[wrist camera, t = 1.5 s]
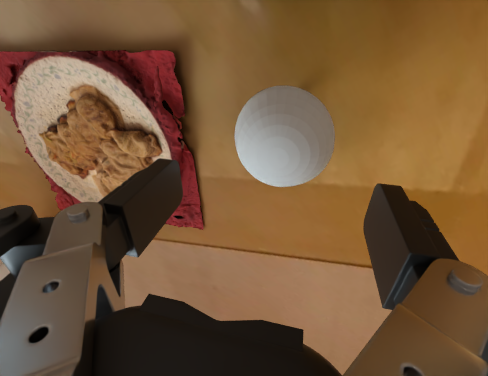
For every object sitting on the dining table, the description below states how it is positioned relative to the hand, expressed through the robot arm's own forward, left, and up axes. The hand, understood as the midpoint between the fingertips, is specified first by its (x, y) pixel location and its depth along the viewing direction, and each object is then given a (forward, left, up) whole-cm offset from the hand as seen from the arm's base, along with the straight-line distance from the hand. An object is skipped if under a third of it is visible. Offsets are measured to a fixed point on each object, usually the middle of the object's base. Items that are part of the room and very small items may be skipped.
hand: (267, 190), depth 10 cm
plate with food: (+15, -21, -18) cm, 32 cm away
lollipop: (0, 0, -18) cm, 18 cm away
